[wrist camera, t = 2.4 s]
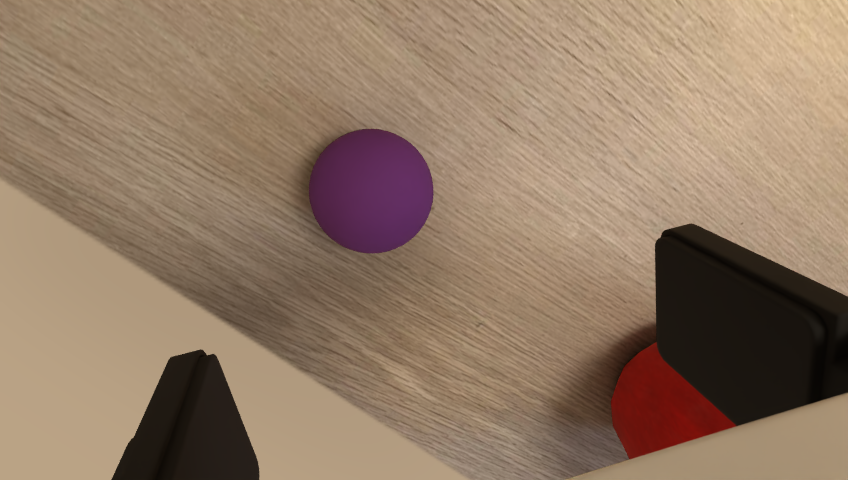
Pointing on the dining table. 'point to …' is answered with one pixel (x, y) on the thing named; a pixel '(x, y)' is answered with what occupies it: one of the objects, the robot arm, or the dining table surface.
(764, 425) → the robot arm
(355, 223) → the ball
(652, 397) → the apple
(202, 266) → the dining table surface
